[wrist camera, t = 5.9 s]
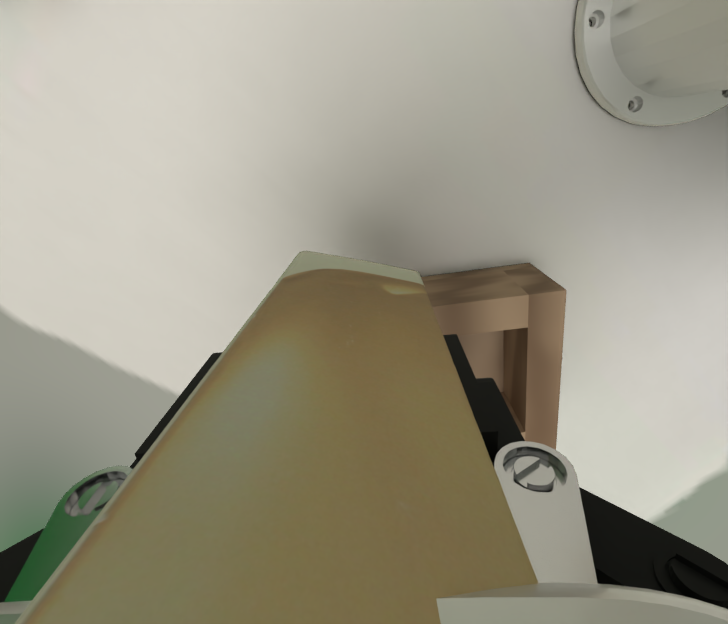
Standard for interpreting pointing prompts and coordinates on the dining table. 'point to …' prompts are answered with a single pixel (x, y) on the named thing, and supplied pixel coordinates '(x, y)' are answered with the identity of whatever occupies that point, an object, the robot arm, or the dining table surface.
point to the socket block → (509, 337)
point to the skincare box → (305, 476)
